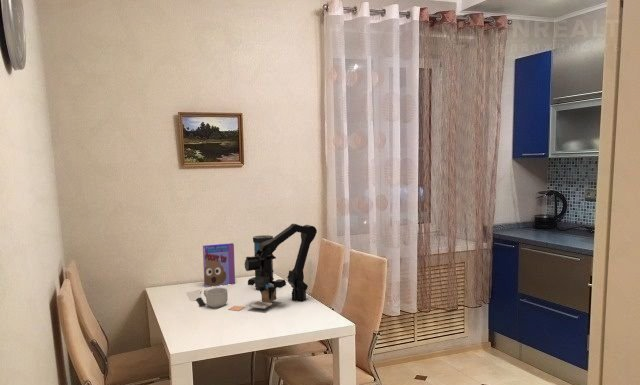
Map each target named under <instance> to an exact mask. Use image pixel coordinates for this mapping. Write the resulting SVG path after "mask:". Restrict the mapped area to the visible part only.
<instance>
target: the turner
mask: <svg viewBox="0 0 640 385" xmlns="http://www.w3.org/2000/svg"><path fill="white" fill-rule="evenodd" d="M276 300H277V288H276V289H275V291H274V294H273V296H272V299H271V300H270V299H269V289H268V288H267V289H265V290H263V291H262V295H261V301H256V302H254V303H252V304H250V306H249V307H250V308H253V307H255V308H264V309H265V308H267V307H268V306H270V305H272V303H270V302H272V301H276Z"/></svg>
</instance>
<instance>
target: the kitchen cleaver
mask: <svg viewBox="0 0 640 385" xmlns="http://www.w3.org/2000/svg"><path fill="white" fill-rule="evenodd" d="M201 293H202V289H196V290H191V291H187V292H186V293H185V294H186V296H187V298H188V300H189V302H197V303H198V307H199V308H206V303H205V302H204V300H203V298H202V297H201Z"/></svg>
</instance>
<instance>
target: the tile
mask: <svg viewBox="0 0 640 385" xmlns="http://www.w3.org/2000/svg"><path fill="white" fill-rule="evenodd" d="M245 308H246V306H243V305H242V306H241V305H233V306H231V307H229V308H228V309H227V310H228V311H233V312H240V311H242V310H244V309H245Z"/></svg>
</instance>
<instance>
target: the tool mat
mask: <svg viewBox="0 0 640 385" xmlns="http://www.w3.org/2000/svg"><path fill="white" fill-rule="evenodd" d="M270 303H272V305H270V306H268V307H267V308H265V309H264V308H255V307H250V309H248V310H247V311H246V312H254V313H262V314H266V313H267V312H270V311H271V310H272V309H274V308H276V307H278V306H279V305H281V304H282V303H283V302H282V301H278V300H277V301H276V300H274V301H272V302H270Z"/></svg>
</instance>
